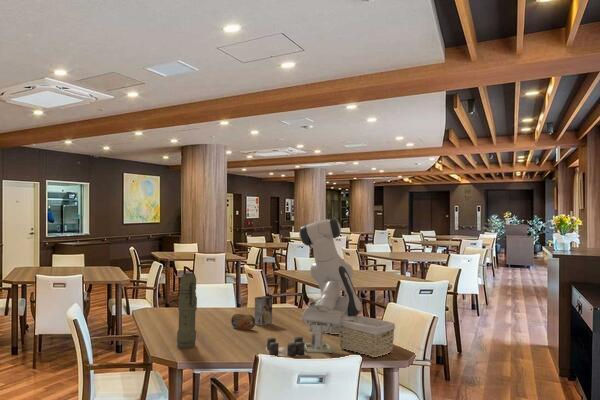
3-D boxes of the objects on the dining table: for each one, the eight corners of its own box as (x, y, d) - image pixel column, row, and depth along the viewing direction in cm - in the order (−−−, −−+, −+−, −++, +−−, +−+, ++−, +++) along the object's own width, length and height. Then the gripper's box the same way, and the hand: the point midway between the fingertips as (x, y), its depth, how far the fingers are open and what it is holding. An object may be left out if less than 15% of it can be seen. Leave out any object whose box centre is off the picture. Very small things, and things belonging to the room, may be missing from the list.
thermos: (186, 342, 234) (189, 271, 236) (201, 346, 226) (203, 274, 228) (171, 345, 228) (173, 273, 230) (185, 350, 220) (187, 275, 222)
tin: (230, 327, 269) (231, 313, 269) (234, 326, 271) (234, 312, 272) (252, 331, 262) (253, 315, 262) (255, 330, 264) (256, 315, 265)
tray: (327, 347, 230) (327, 343, 230) (332, 354, 218) (332, 349, 218) (303, 347, 229) (303, 343, 229) (306, 354, 217) (306, 350, 217)
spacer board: (302, 349, 226) (303, 336, 226) (307, 358, 211) (307, 344, 211) (265, 349, 224) (265, 336, 224) (267, 359, 208) (267, 345, 209)
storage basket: (396, 353, 222) (396, 322, 222) (376, 360, 210) (376, 327, 211) (356, 343, 238) (356, 314, 239) (335, 349, 227) (336, 318, 228)
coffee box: (264, 322, 286) (264, 295, 286) (272, 323, 282) (272, 296, 282) (253, 324, 278) (254, 297, 279) (262, 326, 274) (262, 298, 275)
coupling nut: (321, 348, 225) (322, 323, 226) (322, 351, 221) (323, 325, 221) (311, 348, 225) (311, 323, 225) (312, 351, 220) (312, 325, 221)
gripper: (346, 314, 230) (339, 338, 220) (309, 310, 239) (300, 333, 229) (343, 306, 226) (335, 330, 217) (305, 302, 235) (296, 325, 226)
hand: (317, 331), depth 223 cm, fingers open, 6 cm apart
